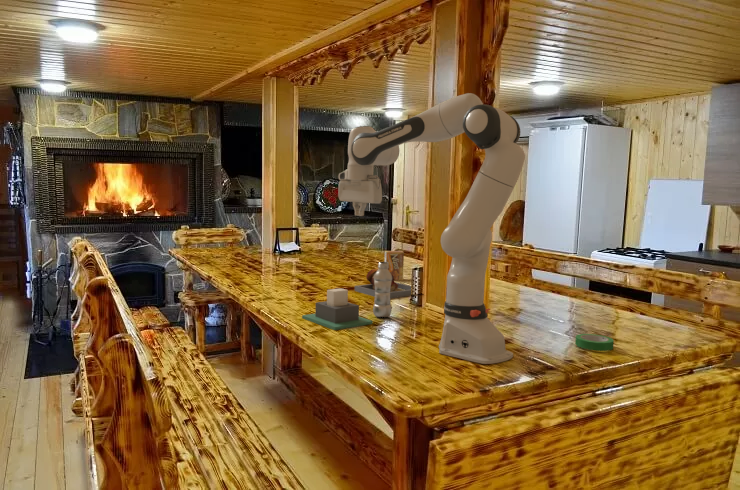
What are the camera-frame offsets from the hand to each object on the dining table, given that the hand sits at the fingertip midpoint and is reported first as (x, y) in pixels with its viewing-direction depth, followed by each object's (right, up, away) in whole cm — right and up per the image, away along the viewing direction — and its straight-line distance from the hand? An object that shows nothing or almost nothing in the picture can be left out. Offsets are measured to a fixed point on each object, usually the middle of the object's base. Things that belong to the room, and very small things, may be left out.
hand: (359, 215), depth 199 cm
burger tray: (+12, -32, +56) cm, 66 cm away
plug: (-8, -35, +5) cm, 36 cm away
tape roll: (+73, -42, -18) cm, 86 cm away
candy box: (+15, -29, +87) cm, 93 cm away
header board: (-8, -37, +5) cm, 38 cm away
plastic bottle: (+8, -36, +12) cm, 39 cm away
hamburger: (+9, -31, +62) cm, 70 cm away
